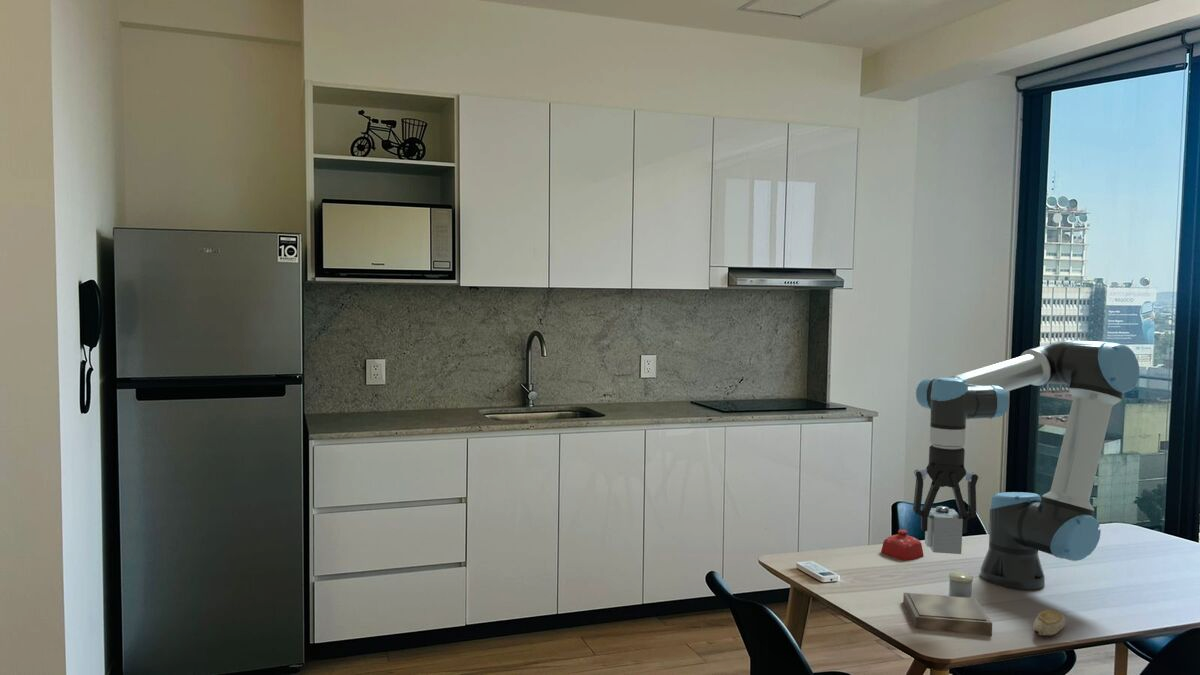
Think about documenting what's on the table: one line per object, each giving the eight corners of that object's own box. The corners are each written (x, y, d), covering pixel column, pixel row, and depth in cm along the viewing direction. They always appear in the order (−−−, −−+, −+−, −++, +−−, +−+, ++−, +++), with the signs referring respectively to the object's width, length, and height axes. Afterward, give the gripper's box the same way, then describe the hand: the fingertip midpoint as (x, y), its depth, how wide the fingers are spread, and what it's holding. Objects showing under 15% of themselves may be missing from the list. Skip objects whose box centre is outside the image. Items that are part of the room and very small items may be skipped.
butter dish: (905, 568, 240) (906, 537, 239) (871, 557, 249) (872, 527, 249) (932, 562, 246) (933, 531, 245) (898, 551, 256) (899, 522, 255)
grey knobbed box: (961, 554, 197) (962, 515, 196) (933, 552, 198) (934, 513, 197) (952, 542, 206) (953, 505, 205) (925, 541, 207) (926, 504, 206)
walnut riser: (973, 610, 208) (974, 596, 208) (991, 636, 192) (992, 621, 192) (903, 604, 211) (903, 591, 211) (915, 630, 195) (915, 616, 195)
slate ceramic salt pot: (969, 599, 216) (970, 572, 215) (974, 607, 210) (975, 579, 210) (945, 597, 217) (946, 571, 216) (950, 605, 211) (951, 578, 211)
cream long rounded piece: (1053, 629, 188) (1048, 647, 189) (1073, 610, 198) (1068, 628, 199) (1028, 618, 191) (1023, 636, 192) (1048, 600, 202) (1043, 617, 202)
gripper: (986, 445, 202) (982, 544, 204) (900, 441, 206) (897, 538, 207) (995, 450, 195) (991, 553, 196) (906, 446, 198) (902, 547, 200)
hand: (943, 545), depth 202 cm, fingers closed on grey knobbed box, 6 cm apart
